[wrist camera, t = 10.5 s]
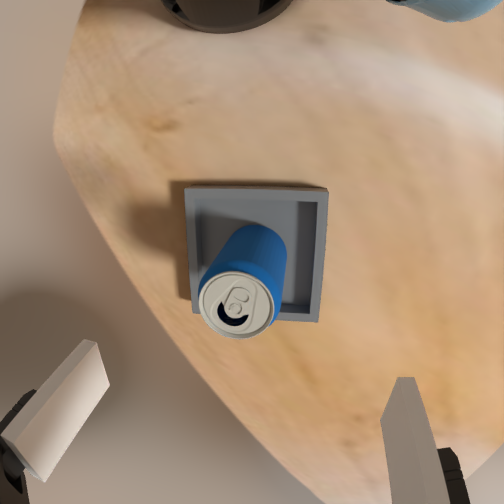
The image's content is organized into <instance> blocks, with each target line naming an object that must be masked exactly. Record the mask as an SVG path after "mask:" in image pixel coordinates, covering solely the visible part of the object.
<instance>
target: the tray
mask: <svg viewBox="0 0 504 504" xmlns="http://www.w3.org/2000/svg"><path fill="white" fill-rule="evenodd" d="M184 194H185V216H186V234H187V250H188V264H189V277H190V290H191V301H192V312H193V313H196V314H201V313H200V309H199V301H198V288H199V284H200V281H201V279H202V277H203V275H204V274H205V272H206V271H207V270H208V268H209V267H210V265H211V264H212V262H213V261H214V259H215V258H216V257H217V255H218V254H219V252H220V251H221V249H222V248H223V246H224V245H225V244H226V242H227V241H228V239H229V238H230V237H231V235H232V234H233V233H234V232H235V231H237V230H238V229H240V228H242V227H244V226H248V225H262V226H265V227H268V228H270V229H272V230H273V231H275V232H276V233H277V234H278V235H279V236H280V237H281V239H282V240H283V242H284V244H285V246H286V250H287V262H286V270H285V278H284V286H283V294H282V301H281V308H280V311H279V314H278V316H277V318H276V319H275V320H284V321H302V322H318V318H319V309H320V300H321V290H322V280H323V269H324V257H325V244H326V231H327V215H328V197H329V192H328V190H327V188H310V187H287V186H253V185H191V186H189V187H187V188H185V189H184Z"/></svg>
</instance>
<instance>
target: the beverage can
mask: <svg viewBox="0 0 504 504" xmlns="http://www.w3.org/2000/svg"><path fill="white" fill-rule="evenodd" d="M286 262H287V250H286V246H285V244H284V242H283V240H282V239H281V237H280V236H279V235H278V234H277V233H276V232H275V231H273V230H272V229H270V228H268V227H265V226H262V225H248V226H244V227H242V228H240V229H238V230H237V231H235V232H234V233H233V234H232V235H231V237H230V238H229V239H228V241H227V242H226V244H225V245H224V246H223V248H222V249H221V251H220V252H219V254H218V255H217V257H216V258H215V259H214V261H213V262H212V264H211V265H210V267H209V268H208V270H207V271H206V272H205V274H204V275H203V277H202V279H201V281H200V284H199V288H198V301H199V309H200V313H201V315H202V317H203V319H204V321H205V322H206V323H207V325H208V326H209V327H210V328H211V329H213V330H214V331H215V332H217V333H218V334H220V335H222V336H225V337H228V338H232V339H248V338H252V337H255V336H257V335H259V334H260V333H262V332H263V331H264V330H265V329H266V328H267V327H269V326H270V325H271V324H272V323H273V322H274V320H275V319H276V318H277V316H278V314H279V311H280V308H281V301H282V294H283V286H284V278H285V270H286Z"/></svg>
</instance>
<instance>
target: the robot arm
mask: <svg viewBox="0 0 504 504" xmlns="http://www.w3.org/2000/svg"><path fill="white" fill-rule="evenodd" d="M161 1H162V3H163V4H164V6H165V7H166V9H167V10H168V11H169V12H170V13H171V14H172V15H174V16H175V17H176V18H177V19H178V20H179V21H181V22H182V23H184V24H185V25H187V26H189V27H191V28H194V29H196V30H200V31H204V32H209V33H234V32H240V31H245V30H249V29H252V28H255V27H258V26H260V25H262V24H264V23H266V22H268V21H270V20H272V19H273V18H275V17H276V16H278V15H279V14H280V13H282V12H283V11H284V10H285V9H286V8H287V7H288V6H289V5H290V3H291V2H292V1H293V0H161ZM386 1H387V2H390V3H392V4H395V5H400V6H407V7H409V8H411V9H414V10H416V11H418V12H421V13H423V14H425V15H427V16H429V17H431V18H434V19H436V20H439V21H443V22H457V21H459V22H464V21H468V20H471V19H474V18H477V17H479V16H481V15H483V14H485V13H487V12H488V11H490V10H491V9H493V8H494V7H495V6H497V5H498V4H499V3H500V2H502V1H503V0H386ZM109 386H110V384H109V382H108V378H107V375H106V372H105V369H104V366H103V362H102V359H101V356H100V352H99V349H98V345H97V342H93V341H89V340H85V339H84V340H83V341H82V342H81V343H80V344H79V345H78V346H77V347H76V348H75V349H74V351H73V352H72V353H71V354H70V355H69V356H68V357H67V358H66V359H65V360H64V361H63V363H62V364H61V365H60V366H59V367H58V368H57V369H56V370H55V371H54V373H53V374H52V375H51V376H50V377H49V378H48V380H46V382H45V383H44V384H43V385H42V386H41V387H40V388H39V390H38V391H36V390H34V389H33V390H31V391H29V392H28V393H26V394H25V395H23V397H22V398H21V399H20V400H19V401H18V402H17V404H15V406H14V407H13V408H12V410H10V411H9V413H8V414H7V415H6V416H5V417H4V418H3V420H2V421H1V422H0V504H30V503H29V498H28V493H27V485H26V480H25V475H24V472H23V470H24V469H25V468H26V469H27V470H28V471H29V473H30V474H31V475H32V476H34V477H36V478H38V479H39V480H41V481H43V482H46V480H47V478H48V477H49V475H50V474H51V472H52V471H53V469H54V467H55V466H56V464H57V463H58V461H59V460H60V458H61V457H62V455H63V454H64V452H65V451H66V449H67V448H68V446H69V445H70V443H71V442H72V440H73V438H74V437H75V436H76V434H77V432H78V431H79V430H80V428H81V427H82V425H83V424H84V422H85V421H86V419H87V418H88V416H89V415H90V413H91V412H92V410H93V409H94V408H95V406H96V404H97V403H98V402H99V400H100V399H101V397H102V396H103V394H104V393H105V391H106V390H107V389H108V387H109ZM380 422H381V427H382V433H383V439H384V445H385V452H386V458H387V465H388V472H389V480H390V488H391V496H392V504H470V500H469V497H468V492H467V489H466V485H465V481H464V479H463V474H462V471H461V470H460V469H461V467H460V464H459V460H458V457H457V456H456V454H455V453H454V452H453V451H452V449H451V448H450V447H448V448H442V449H437V448H436V444H435V441H434V437H433V434H432V431H431V427H430V424H429V421H428V417H427V414H426V411H425V408H424V405H423V402H422V399H421V396H420V393H419V390H418V387H417V384H416V381H415V378H414V377H398V378H397V380H396V383H395V385H394V388H393V391H392V393H391V396H390V398H389V401H388V403H387V405H386V408H385V410H384V412H383V415H382V417H381V419H380Z"/></svg>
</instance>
